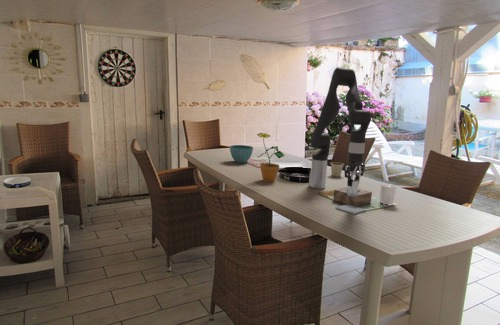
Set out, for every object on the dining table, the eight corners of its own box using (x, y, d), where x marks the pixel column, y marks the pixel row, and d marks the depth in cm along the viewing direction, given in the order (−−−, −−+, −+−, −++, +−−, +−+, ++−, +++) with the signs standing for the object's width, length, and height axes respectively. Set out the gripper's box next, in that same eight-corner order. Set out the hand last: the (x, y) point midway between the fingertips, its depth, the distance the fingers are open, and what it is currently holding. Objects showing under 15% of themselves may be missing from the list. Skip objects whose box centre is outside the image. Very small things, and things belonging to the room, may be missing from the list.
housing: (333, 200, 206) (334, 189, 205) (349, 196, 215) (350, 186, 214) (354, 207, 196) (355, 195, 195) (370, 202, 204) (371, 192, 203)
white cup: (384, 205, 200) (386, 187, 198) (375, 201, 207) (377, 183, 206) (397, 205, 202) (399, 187, 200) (388, 200, 210) (390, 183, 208)
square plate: (267, 164, 298) (267, 159, 297) (301, 165, 300) (301, 160, 299) (271, 172, 271) (271, 166, 270) (309, 173, 273) (309, 167, 272)
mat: (335, 208, 192) (335, 207, 192) (347, 205, 198) (348, 204, 198) (353, 214, 183) (353, 213, 183) (365, 211, 189) (366, 209, 189)
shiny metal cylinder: (344, 194, 189) (346, 179, 188) (351, 193, 193) (352, 177, 191) (353, 197, 186) (354, 181, 184) (359, 195, 189) (361, 180, 187)
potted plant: (252, 182, 237) (254, 134, 232) (258, 176, 255) (260, 131, 250) (280, 185, 233) (283, 136, 228) (284, 178, 251) (287, 133, 246)
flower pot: (341, 174, 272) (342, 162, 270) (344, 177, 263) (345, 165, 261) (327, 173, 271) (328, 162, 270) (331, 176, 262) (332, 164, 261)
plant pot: (256, 162, 303) (257, 146, 301) (244, 165, 288) (244, 149, 286) (237, 159, 313) (238, 144, 310) (224, 162, 297) (225, 146, 295)
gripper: (358, 149, 192) (355, 182, 195) (340, 151, 183) (337, 185, 187) (371, 151, 186) (368, 185, 190) (353, 153, 178) (350, 189, 181)
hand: (353, 185), depth 188 cm, fingers closed on shiny metal cylinder, 5 cm apart
